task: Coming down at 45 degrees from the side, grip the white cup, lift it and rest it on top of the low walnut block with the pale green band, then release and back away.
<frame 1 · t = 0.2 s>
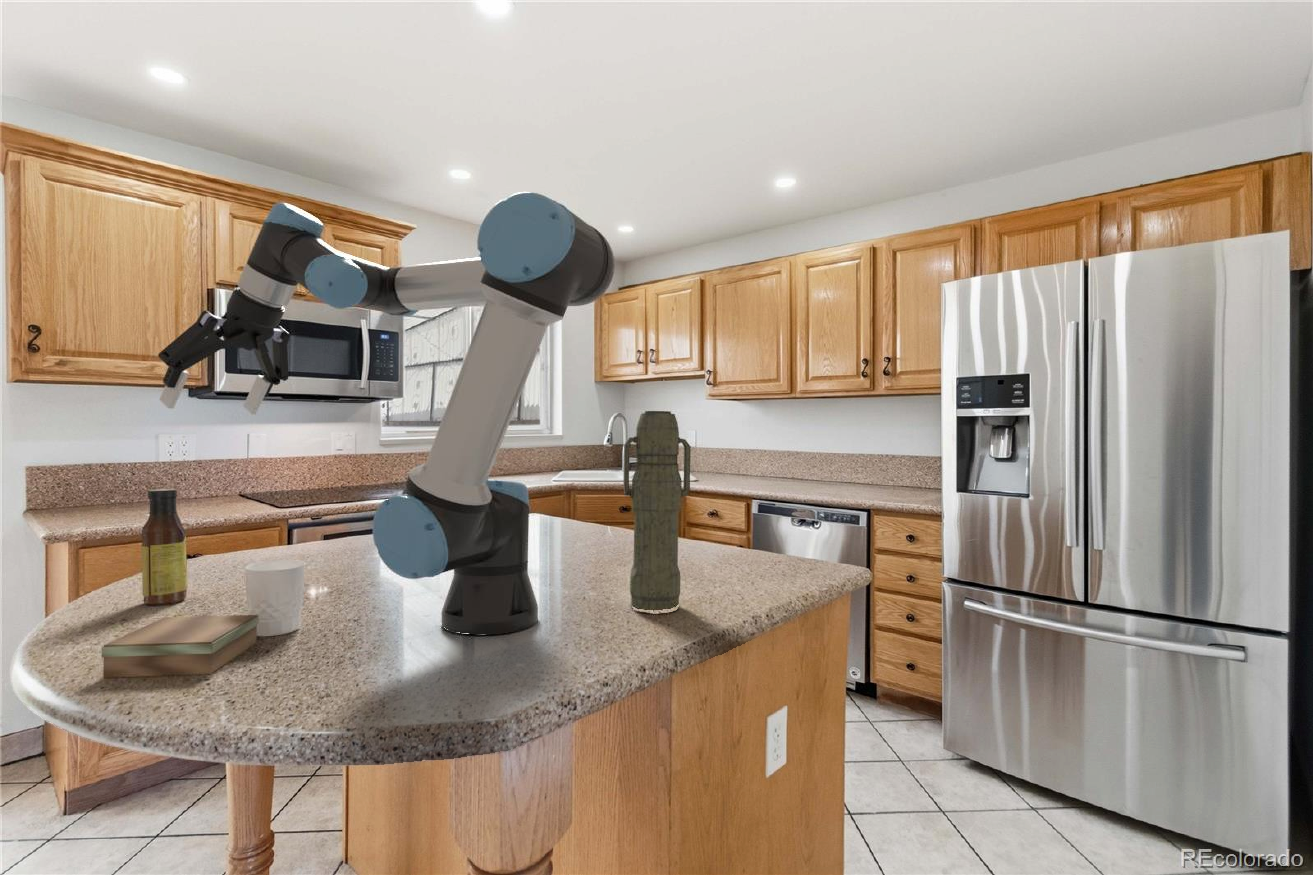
hand: (210, 407, 106), 34 cm above the counter, tool tilted 30°, fingers open, 13 cm apart
sauce bottle: (164, 602, 112), on the counter
walnut block: (186, 658, 84), on the counter
white cup: (275, 631, 97), on the counter
thermos: (655, 608, 113), on the counter
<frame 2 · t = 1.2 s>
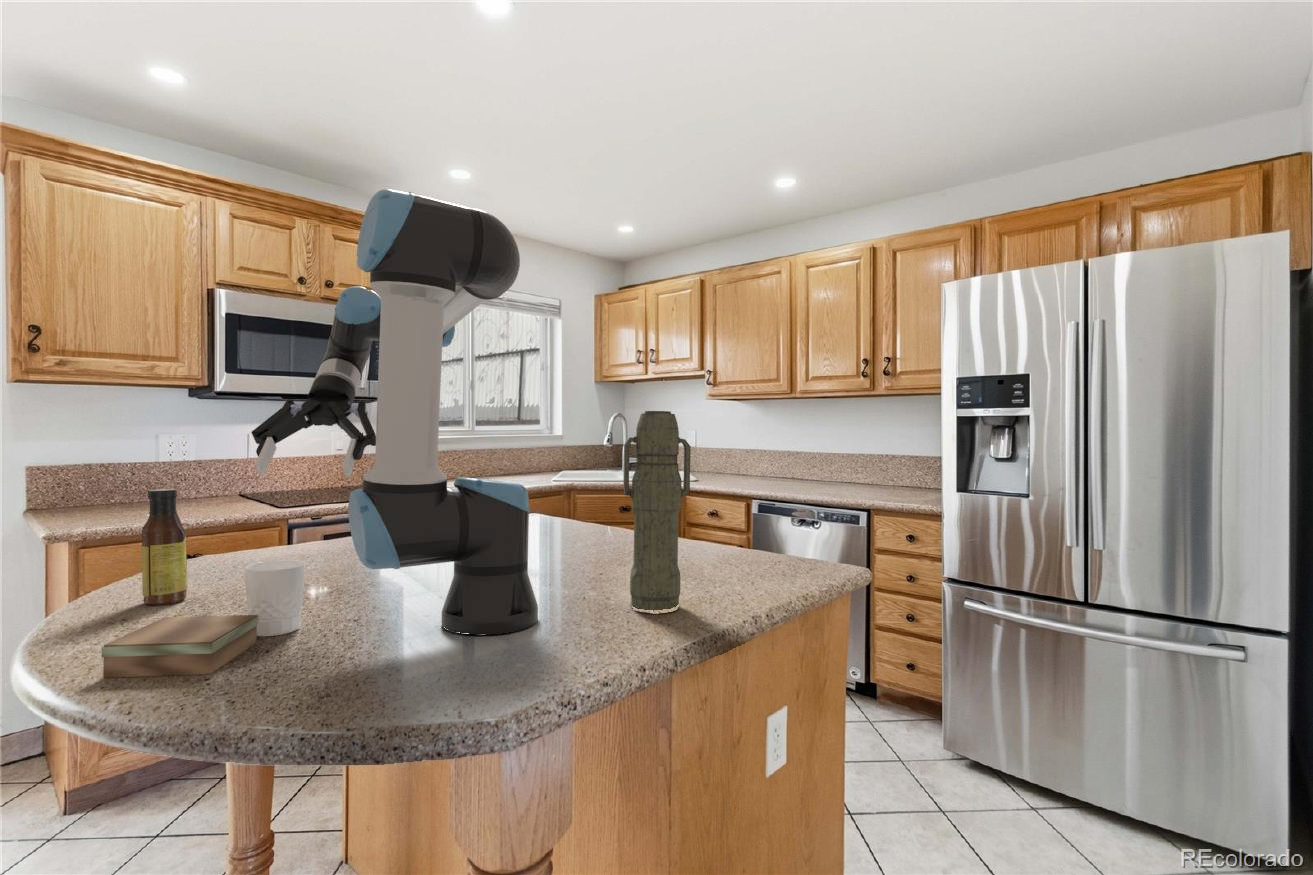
hand: (303, 471, 107), 24 cm above the counter, tool tilted 45°, fingers open, 13 cm apart
nothing on the counter moved.
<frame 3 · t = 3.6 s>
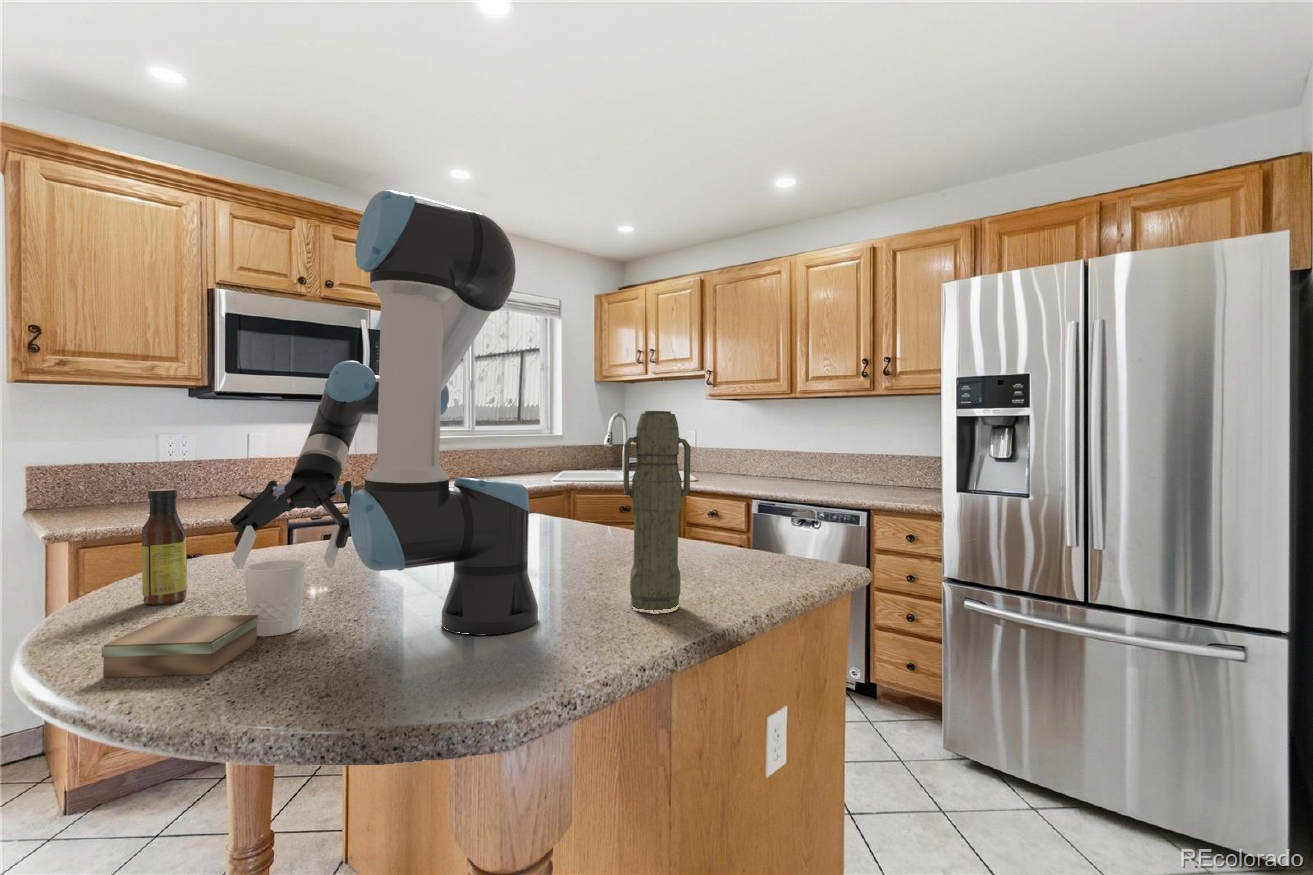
hand: (283, 563, 101), 9 cm above the counter, tool tilted 45°, fingers open, 13 cm apart
nothing on the counter moved.
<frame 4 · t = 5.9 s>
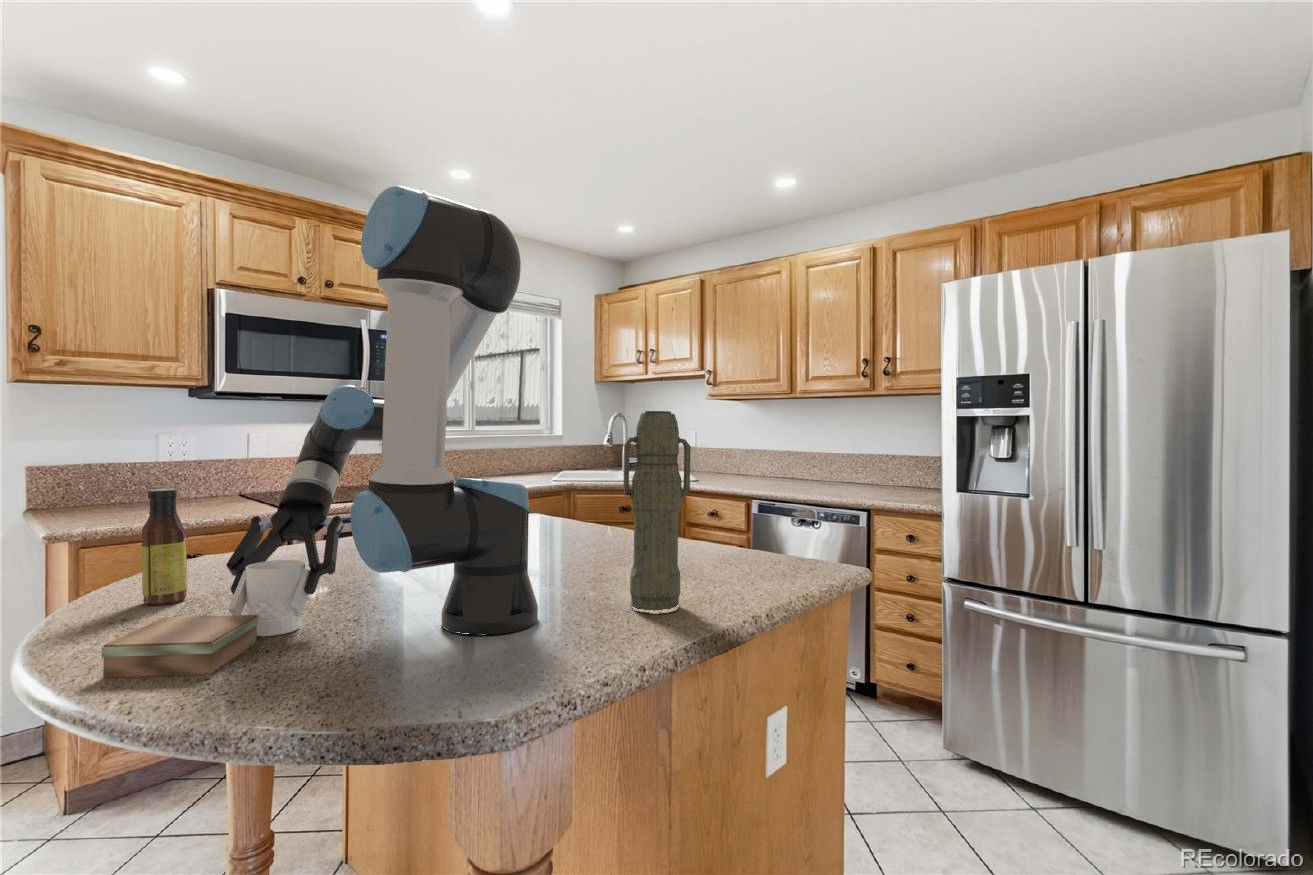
hand: (265, 612, 93), 4 cm above the counter, tool tilted 45°, fingers closed on white cup, 8 cm apart
white cup: (274, 631, 97), on the counter, touching gripper
everything else where it was.
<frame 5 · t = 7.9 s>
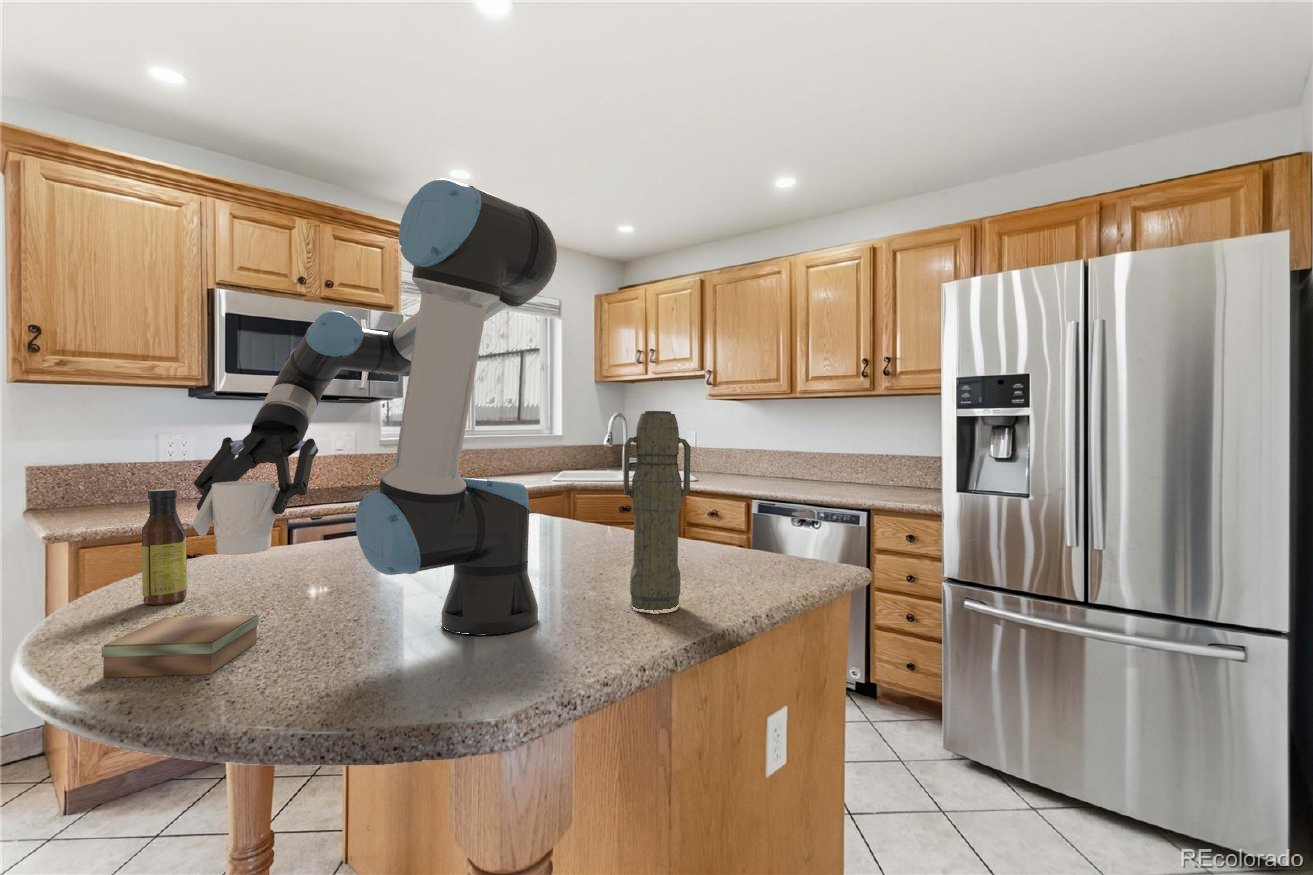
hand: (230, 530, 90), 16 cm above the counter, tool tilted 45°, fingers closed on white cup, 8 cm apart
white cup: (243, 552, 93), point 13 cm above the counter, touching gripper
everything else where it was.
when the fingers open (9 cm above the counter, at t = 10.2 s): white cup drops 1 cm, resting on walnut block.
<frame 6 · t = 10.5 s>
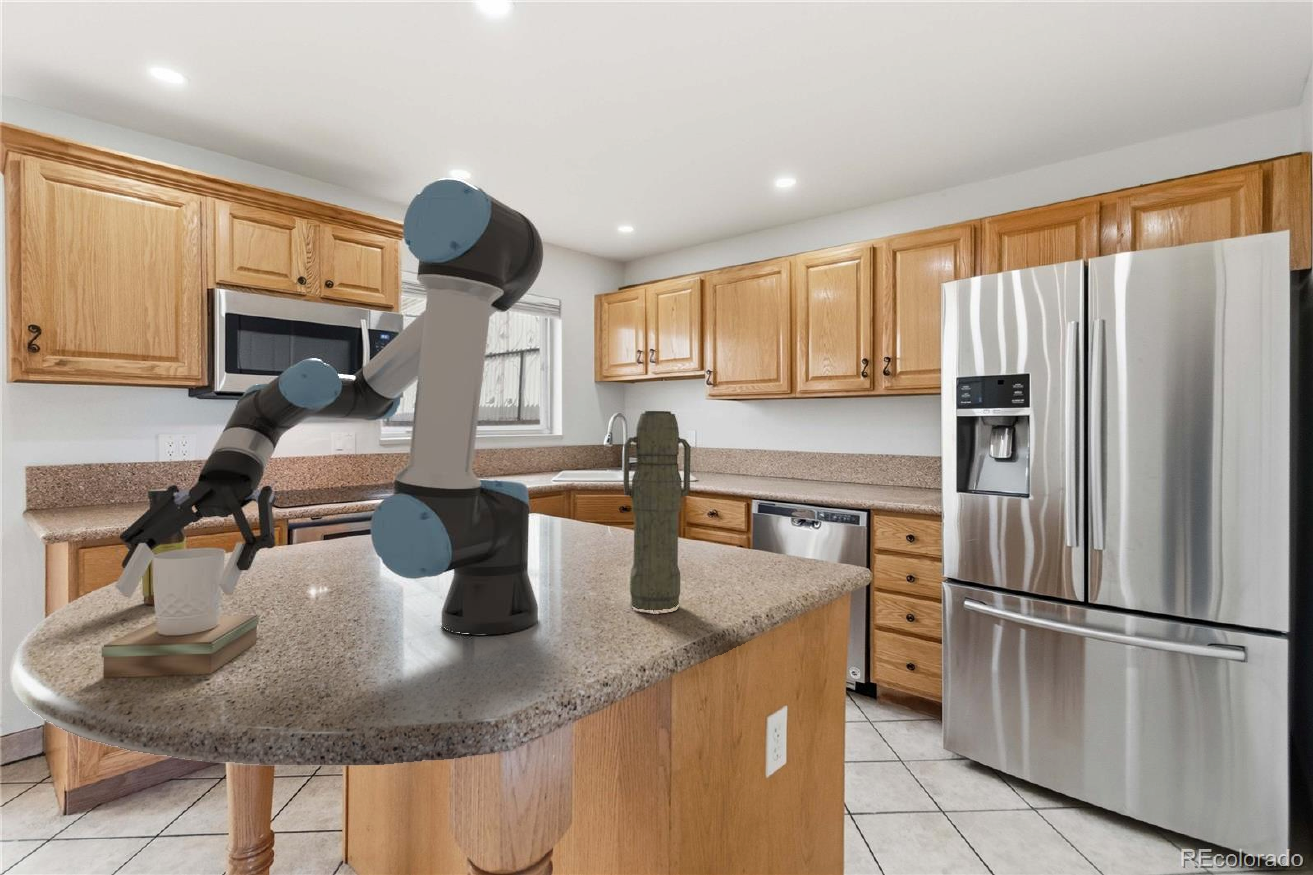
hand: (174, 590, 81), 10 cm above the counter, tool tilted 45°, fingers open, 11 cm apart
white cup: (188, 629, 84), point 4 cm above the counter, touching walnut block
everything else where it was.
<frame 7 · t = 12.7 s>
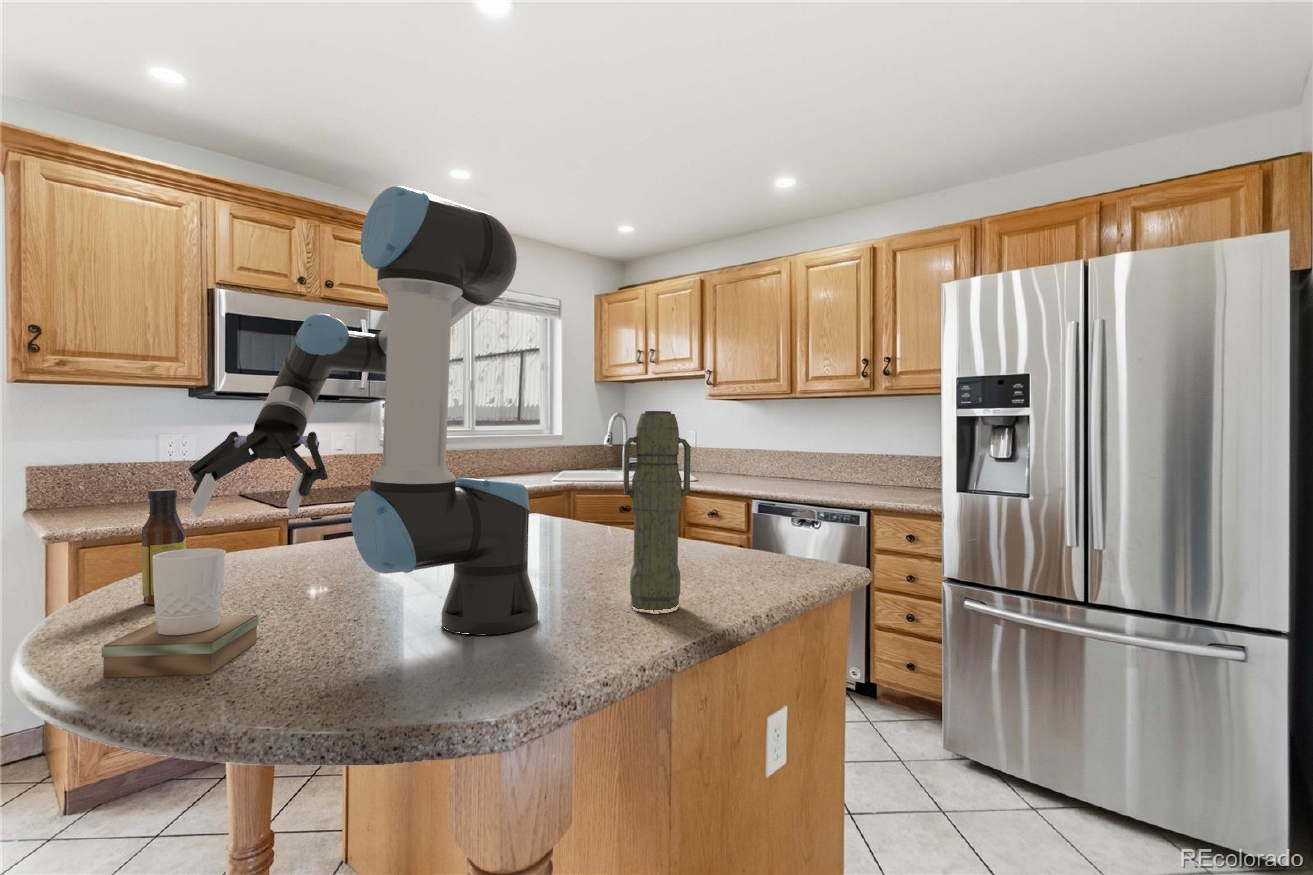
hand: (243, 510, 98), 18 cm above the counter, tool tilted 45°, fingers open, 13 cm apart
nothing on the counter moved.
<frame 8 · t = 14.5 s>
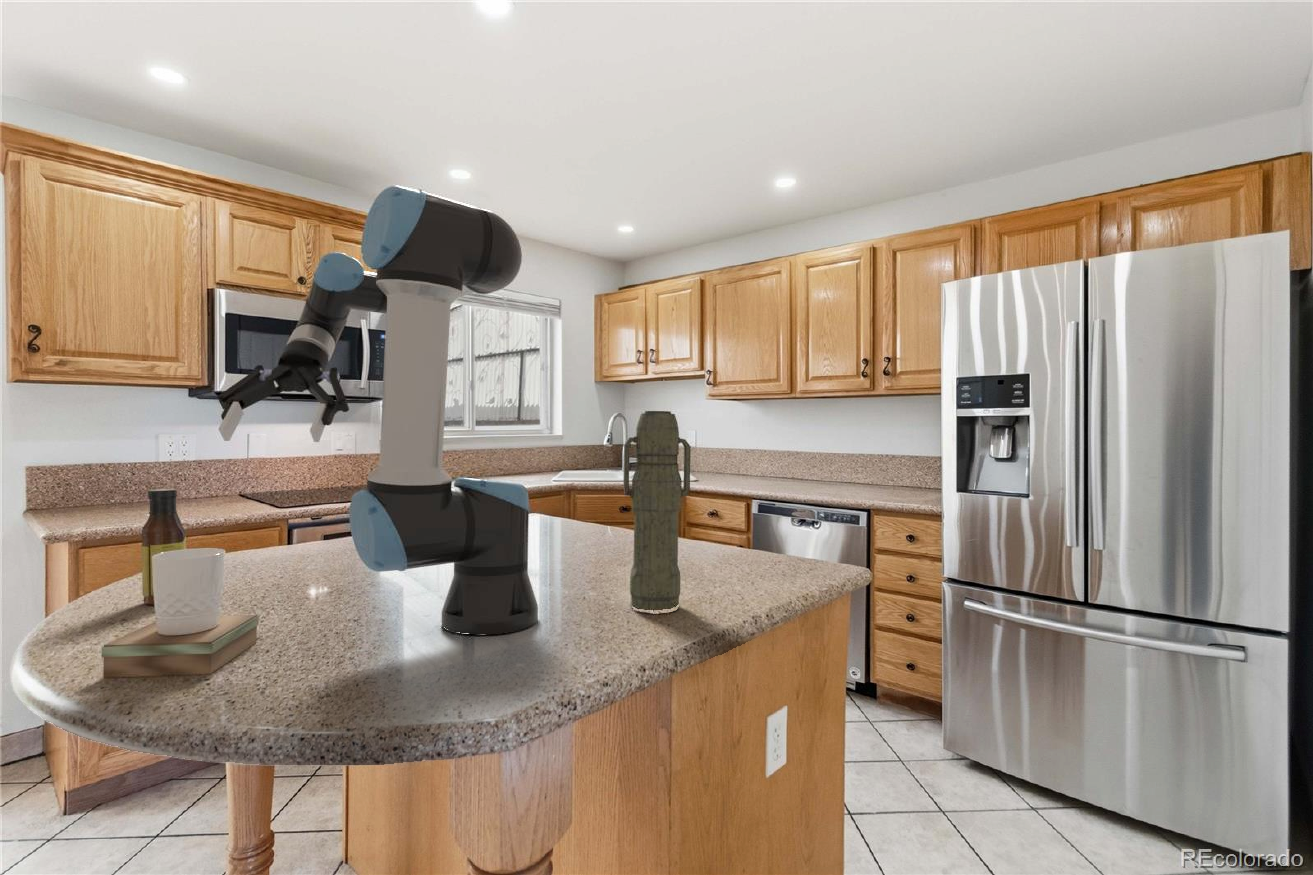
hand: (269, 435, 103), 30 cm above the counter, tool tilted 45°, fingers open, 13 cm apart
nothing on the counter moved.
at the end: white cup 0.2 cm from the walnut block (horizontally); white cup touching walnut block; white cup tilted 0° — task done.
